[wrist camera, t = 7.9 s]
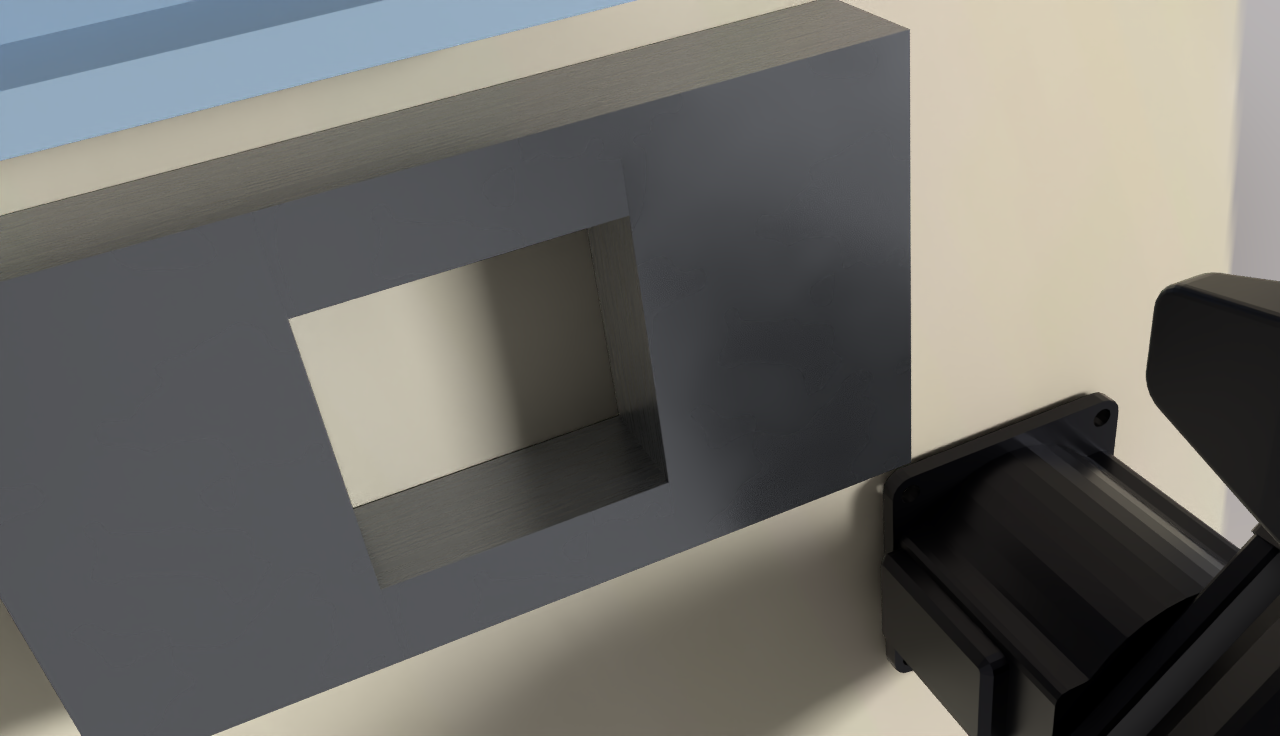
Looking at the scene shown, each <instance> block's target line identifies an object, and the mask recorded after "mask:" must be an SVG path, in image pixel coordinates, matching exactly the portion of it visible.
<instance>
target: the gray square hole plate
mask: <svg viewBox="0 0 1280 736" xmlns="http://www.w3.org/2000/svg"><path fill="white" fill-rule="evenodd" d="M586 228H587V232H588V238H589V244H590V250H591V255H592V261H593V267H594V273H595V279H596V285H597V290H598V296H599V302H600V308H601V314H602V320H603V325H604V331H605V337H606V343H607V349H608V355H609V360H610V366H611V372H612V378H613V384H614V390H615V395H616V401H617V407H618V413H619V416H616V417H614V418H611V419H608V420H605V421H602V422H599V423H596V424H594V425H591V426H588V427H585V428H582V429H579V430H577V431H574V432H571V433H568V434H565V435H562V436H559V437H557V438H554V439H551V440H548V441H545V442H542V443H540V444H537V445H534V446H531V447H528V448H525V449H522V450H520V451H517V452H514V453H511V454H508V455H505V456H503V457H500V458H497V459H494V460H491V461H488V462H485V463H483V464H480V465H477V466H474V467H471V468H468V469H466V470H463V471H460V472H457V473H454V474H451V475H448V476H446V477H443V478H440V479H437V480H434V481H431V482H429V483H426V484H423V485H420V486H417V487H414V488H411V489H409V490H406V491H403V492H400V493H397V494H394V495H392V496H389V497H386V498H383V499H380V500H377V501H374V502H372V503H369V504H366V505H363V506H360V507H357V508H355V509H353V507H352V504H351V501H350V498H349V495H348V492H347V489H346V487H345V484H344V481H343V478H342V475H341V472H340V469H339V466H338V463H337V460H336V457H335V454H334V452H333V449H332V446H331V443H330V440H329V437H328V434H327V431H326V428H325V425H324V422H323V419H322V417H321V414H320V411H319V408H318V405H317V402H316V399H315V396H314V393H313V390H312V387H311V384H310V381H309V379H308V376H307V373H306V370H305V367H304V364H303V361H302V358H301V355H300V352H299V349H298V346H297V344H296V341H295V338H294V335H293V332H292V329H291V326H290V323H289V320H288V319H290V318H293V317H296V316H300V315H303V314H306V313H310V312H313V311H316V310H320V309H323V308H326V307H329V306H333V305H336V304H339V303H343V302H346V301H349V300H352V299H356V298H359V297H362V296H366V295H369V294H372V293H375V292H379V291H382V290H385V289H389V288H392V287H395V286H399V285H402V284H405V283H408V282H412V281H415V280H418V279H422V278H425V277H428V276H431V275H435V274H438V273H441V272H445V271H448V270H451V269H454V268H458V267H461V266H464V265H468V264H471V263H474V262H478V261H481V260H484V259H487V258H491V257H494V256H497V255H501V254H504V253H507V252H510V251H514V250H517V249H520V248H524V247H527V246H530V245H533V244H537V243H540V242H543V241H547V240H550V239H553V238H556V237H560V236H563V235H566V234H570V233H573V232H576V231H580V230H583V229H586ZM908 463H911V257H910V29H908V28H905V27H903V26H900V25H898V24H895V23H893V22H891V21H888V20H886V19H883V18H881V17H878V16H876V15H873V14H871V13H869V12H866V11H864V10H861V9H859V8H856V7H854V6H852V5H849V4H847V3H844V2H842V1H839V0H818V1H814V2H810V3H806V4H802V5H799V6H795V7H791V8H787V9H783V10H780V11H776V12H772V13H768V14H764V15H761V16H757V17H753V18H749V19H746V20H742V21H738V22H734V23H730V24H727V25H723V26H719V27H715V28H711V29H708V30H704V31H700V32H696V33H692V34H689V35H685V36H681V37H677V38H674V39H670V40H666V41H662V42H658V43H655V44H651V45H647V46H643V47H639V48H636V49H632V50H628V51H624V52H620V53H617V54H613V55H609V56H605V57H602V58H598V59H594V60H590V61H586V62H583V63H579V64H575V65H571V66H567V67H564V68H560V69H556V70H552V71H548V72H545V73H541V74H537V75H533V76H530V77H526V78H522V79H518V80H514V81H511V82H507V83H503V84H499V85H495V86H492V87H488V88H484V89H480V90H476V91H473V92H469V93H465V94H461V95H458V96H454V97H450V98H446V99H442V100H439V101H435V102H431V103H427V104H423V105H420V106H416V107H412V108H408V109H404V110H401V111H397V112H393V113H389V114H386V115H382V116H378V117H374V118H370V119H367V120H363V121H359V122H355V123H351V124H348V125H344V126H340V127H336V128H332V129H329V130H325V131H321V132H317V133H314V134H310V135H306V136H302V137H298V138H295V139H291V140H287V141H283V142H279V143H276V144H272V145H268V146H264V147H260V148H257V149H253V150H249V151H245V152H242V153H238V154H234V155H230V156H226V157H223V158H219V159H215V160H211V161H207V162H204V163H200V164H196V165H192V166H188V167H185V168H181V169H177V170H173V171H170V172H166V173H162V174H158V175H154V176H151V177H147V178H143V179H139V180H135V181H132V182H128V183H124V184H120V185H116V186H113V187H109V188H105V189H101V190H98V191H94V192H90V193H86V194H82V195H79V196H75V197H71V198H67V199H63V200H60V201H56V202H52V203H48V204H44V205H41V206H37V207H33V208H29V209H26V210H22V211H18V212H14V213H10V214H7V215H3V216H0V598H1V600H2V602H3V603H4V605H5V607H6V608H7V610H8V612H9V613H10V615H11V617H12V619H13V620H14V622H15V624H16V625H17V627H18V629H19V630H20V632H21V634H22V635H23V637H24V639H25V641H26V642H27V644H28V646H29V647H30V649H31V651H32V652H33V654H34V656H35V658H36V659H37V661H38V663H39V664H40V666H41V668H42V669H43V671H44V673H45V675H46V676H47V678H48V680H49V681H50V683H51V685H52V686H53V688H54V690H55V692H56V693H57V695H58V697H59V698H60V700H61V702H62V703H63V705H64V707H65V709H66V710H67V712H68V714H69V715H70V717H71V719H72V720H73V722H74V724H75V726H76V727H77V729H78V731H79V732H80V734H81V736H211V735H214V734H216V733H219V732H221V731H224V730H226V729H229V728H232V727H234V726H237V725H239V724H242V723H244V722H247V721H250V720H252V719H255V718H257V717H260V716H262V715H265V714H267V713H270V712H273V711H275V710H278V709H280V708H283V707H285V706H288V705H291V704H293V703H296V702H298V701H301V700H303V699H306V698H309V697H311V696H314V695H316V694H319V693H321V692H324V691H326V690H329V689H332V688H334V687H337V686H339V685H342V684H344V683H347V682H350V681H352V680H355V679H357V678H360V677H362V676H365V675H367V674H370V673H373V672H375V671H378V670H380V669H383V668H385V667H388V666H391V665H393V664H396V663H398V662H401V661H403V660H406V659H408V658H411V657H414V656H416V655H419V654H421V653H424V652H426V651H429V650H432V649H434V648H437V647H439V646H442V645H444V644H447V643H449V642H452V641H455V640H457V639H460V638H462V637H465V636H467V635H470V634H473V633H475V632H478V631H480V630H483V629H485V628H488V627H490V626H493V625H496V624H498V623H501V622H503V621H506V620H508V619H511V618H514V617H516V616H519V615H521V614H524V613H526V612H529V611H531V610H534V609H537V608H539V607H542V606H544V605H547V604H549V603H552V602H555V601H557V600H560V599H562V598H565V597H567V596H570V595H572V594H575V593H578V592H580V591H583V590H585V589H588V588H590V587H593V586H596V585H598V584H601V583H603V582H606V581H608V580H611V579H614V578H616V577H619V576H621V575H624V574H626V573H629V572H631V571H634V570H637V569H639V568H642V567H644V566H647V565H649V564H652V563H655V562H657V561H660V560H662V559H665V558H667V557H670V556H672V555H675V554H678V553H680V552H683V551H685V550H688V549H690V548H693V547H696V546H698V545H701V544H703V543H706V542H708V541H711V540H713V539H716V538H719V537H721V536H724V535H726V534H729V533H731V532H734V531H737V530H739V529H742V528H744V527H747V526H749V525H752V524H754V523H757V522H760V521H762V520H765V519H767V518H770V517H772V516H775V515H778V514H780V513H783V512H785V511H788V510H790V509H793V508H795V507H798V506H801V505H803V504H806V503H808V502H811V501H813V500H816V499H819V498H821V497H824V496H826V495H829V494H831V493H834V492H836V491H839V490H842V489H844V488H847V487H849V486H852V485H854V484H857V483H860V482H862V481H865V480H867V479H870V478H872V477H875V476H877V475H880V474H883V473H885V472H888V471H890V470H893V469H895V468H898V467H901V466H903V465H906V464H908Z"/></svg>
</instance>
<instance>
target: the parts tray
mask: <svg viewBox="0 0 1280 736" xmlns="http://www.w3.org/2000/svg"><path fill="white" fill-rule="evenodd" d="M632 1H636V0H0V161H1V160H5V159H9V158H13V157H17V156H21V155H25V154H29V153H33V152H37V151H41V150H45V149H49V148H53V147H57V146H61V145H65V144H69V143H73V142H77V141H81V140H84V139H88V138H92V137H96V136H100V135H104V134H108V133H112V132H116V131H120V130H124V129H128V128H132V127H136V126H140V125H144V124H148V123H152V122H156V121H160V120H164V119H168V118H172V117H176V116H180V115H184V114H188V113H192V112H195V111H199V110H203V109H207V108H211V107H215V106H219V105H223V104H227V103H231V102H235V101H239V100H243V99H247V98H251V97H255V96H259V95H263V94H267V93H271V92H275V91H279V90H283V89H287V88H291V87H295V86H299V85H303V84H306V83H310V82H314V81H318V80H322V79H326V78H330V77H334V76H338V75H342V74H346V73H350V72H354V71H358V70H362V69H366V68H370V67H374V66H378V65H382V64H386V63H390V62H394V61H398V60H402V59H406V58H410V57H414V56H417V55H421V54H425V53H429V52H433V51H437V50H441V49H445V48H449V47H453V46H457V45H461V44H465V43H469V42H473V41H477V40H481V39H485V38H489V37H493V36H497V35H501V34H505V33H509V32H513V31H517V30H521V29H525V28H528V27H532V26H536V25H540V24H544V23H548V22H552V21H556V20H560V19H564V18H568V17H572V16H576V15H580V14H584V13H588V12H592V11H596V10H600V9H604V8H608V7H612V6H616V5H620V4H624V3H628V2H632Z"/></svg>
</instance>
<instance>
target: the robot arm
mask: <svg viewBox="0 0 1280 736" xmlns="http://www.w3.org/2000/svg"><path fill="white" fill-rule="evenodd" d="M1146 382H1147V387H1148V390H1149V393H1150V396H1151V397H1152V399H1153V401H1154V403H1155V404H1156V406H1157V407H1158V408H1159V409H1160V411H1161V412H1162V413H1163V414H1164V415H1165V416H1166V417H1167V419H1168V420H1169V421H1170V422H1171V423H1172V424H1173V425H1174V426H1175V428H1176V429H1177V430H1178V431H1179V432H1180V433H1181V434H1182V436H1183V437H1184V438H1185V439H1186V440H1187V441H1188V442H1189V444H1190V445H1191V446H1192V447H1193V448H1194V449H1195V450H1196V451H1197V453H1198V454H1199V455H1200V456H1201V457H1202V458H1203V459H1204V461H1205V462H1206V463H1207V464H1208V465H1209V466H1210V467H1211V469H1212V470H1213V471H1214V472H1215V473H1216V474H1217V475H1218V476H1219V478H1220V479H1221V480H1222V481H1223V482H1224V483H1225V484H1226V486H1227V487H1228V488H1229V489H1230V490H1231V491H1232V492H1233V493H1234V495H1235V496H1236V497H1237V498H1238V499H1239V500H1240V501H1241V503H1242V504H1243V505H1244V506H1245V507H1246V508H1247V509H1248V511H1249V512H1250V513H1251V514H1252V515H1253V516H1254V517H1255V518H1256V520H1257V521H1258V522H1259V523H1258V524H1257V525H1256V526H1255V527H1254V528H1253V529H1252V530H1251V531H1252V532H1253V533H1254V535H1253V536H1252V537H1251V538H1250V540H1249V541H1248V542H1247V543H1246V544H1245V545H1244V546H1243V547H1242V548H1241V549H1239V548H1238V547H1236V546H1235V545H1234V544H1232V543H1231V542H1230V541H1228V540H1227V539H1226V538H1224V537H1223V536H1221V535H1220V534H1219V533H1217V532H1216V531H1215V530H1213V529H1212V528H1211V527H1209V526H1208V525H1207V524H1205V523H1204V522H1203V521H1201V520H1200V519H1198V518H1197V517H1196V516H1194V515H1193V514H1192V513H1190V512H1189V511H1188V510H1186V509H1185V508H1184V507H1182V506H1181V505H1180V504H1178V503H1177V502H1175V501H1174V500H1173V499H1171V498H1170V497H1169V496H1167V495H1166V494H1165V493H1163V492H1162V491H1161V490H1159V489H1158V488H1157V487H1155V486H1154V485H1153V484H1151V483H1150V482H1148V481H1147V480H1146V479H1144V478H1143V477H1142V476H1140V475H1139V474H1138V473H1136V472H1135V471H1134V470H1132V469H1131V468H1130V467H1128V466H1127V465H1125V464H1124V463H1123V462H1121V461H1120V460H1119V459H1117V458H1116V457H1115V456H1113V455H1114V446H1115V437H1116V429H1117V420H1118V405H1117V404H1116V402H1115V401H1113V400H1112V399H1111V398H1109V397H1108V396H1106V395H1105V394H1103V393H1099V392H1097V393H1092V394H1090V395H1087V396H1085V397H1082V398H1079V399H1077V400H1074V401H1072V402H1069V403H1067V404H1064V405H1062V406H1059V407H1056V408H1054V409H1051V410H1049V411H1046V412H1044V413H1041V414H1038V415H1036V416H1033V417H1031V418H1028V419H1026V420H1023V421H1021V422H1018V423H1015V424H1013V425H1010V426H1008V427H1005V428H1003V429H1000V430H998V431H995V432H992V433H990V434H987V435H985V436H982V437H980V438H977V439H974V440H972V441H969V442H967V443H964V444H962V445H959V446H957V447H954V448H951V449H949V450H946V451H944V452H941V453H939V454H936V455H934V456H931V457H928V458H926V459H923V460H921V461H918V462H916V463H913V464H910V465H908V466H905V467H903V468H901V469H899V470H897V471H895V472H894V473H893V474H892V475H891V476H890V477H889V478H888V479H887V481H886V483H885V485H884V489H883V515H884V557H883V561H882V564H881V590H882V632H883V635H884V637H885V638H886V655H887V659H888V660H889V661H890V663H891V664H892V665H893V666H894V667H895V669H896V670H897V671H899V672H902V673H906V672H910V671H914V672H915V673H916V674H917V675H918V677H919V678H920V679H921V680H922V681H923V682H924V684H925V685H926V686H927V687H928V688H929V690H930V691H931V692H932V693H933V694H934V695H935V697H936V698H937V699H938V700H939V701H940V702H941V704H942V705H943V706H944V707H945V708H946V709H947V711H948V712H949V713H950V714H951V715H952V716H953V718H954V719H955V720H956V721H957V722H958V723H959V725H960V726H961V727H962V728H963V729H964V731H965V732H966V733H967V734H968V735H969V736H1280V281H1273V280H1266V279H1259V278H1251V277H1245V276H1237V275H1230V274H1223V273H1204V274H1201V275H1198V276H1195V277H1192V278H1189V279H1186V280H1183V281H1180V282H1177V283H1174V284H1171V285H1169V286H1168V287H1166V288H1165V289H1164V290H1162V291H1161V293H1160V295H1159V296H1158V298H1157V300H1156V302H1155V306H1154V313H1153V321H1152V329H1151V336H1150V344H1149V352H1148V360H1147V367H1146ZM906 488H907V490H906V491H905V489H906Z"/></svg>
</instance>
